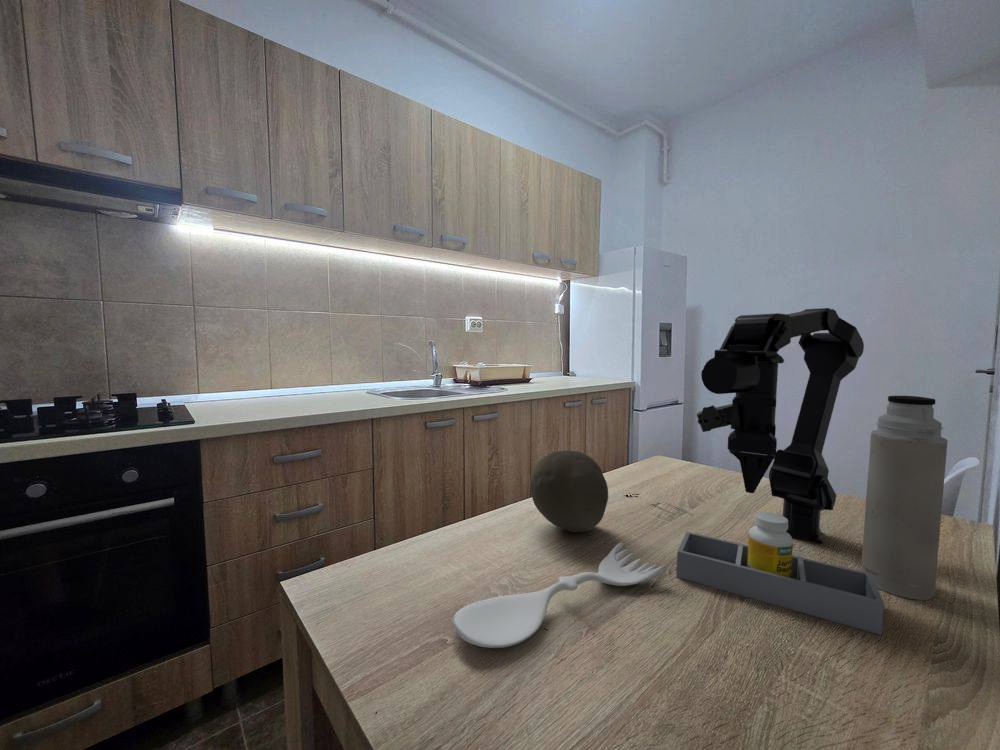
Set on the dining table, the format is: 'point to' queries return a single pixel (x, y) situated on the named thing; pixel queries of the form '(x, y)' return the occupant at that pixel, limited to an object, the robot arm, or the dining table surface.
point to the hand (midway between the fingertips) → (750, 484)
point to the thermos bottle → (905, 498)
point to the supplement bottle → (770, 544)
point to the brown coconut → (569, 490)
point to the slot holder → (784, 582)
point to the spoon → (539, 603)
